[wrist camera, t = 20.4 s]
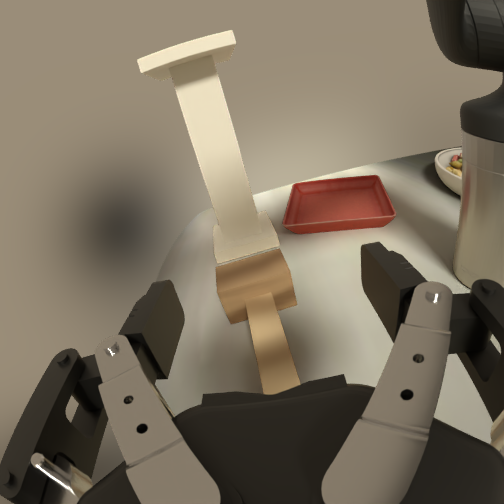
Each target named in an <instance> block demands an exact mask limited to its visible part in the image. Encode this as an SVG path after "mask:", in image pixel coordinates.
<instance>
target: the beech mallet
mask: <svg viewBox="0 0 504 504" xmlns="http://www.w3.org/2000/svg"><path fill="white" fill-rule="evenodd" d="M216 282H217V293H218V296H219V298H220V300H221V303H222V305H223V307H224V310H225V312H226V314H227V317H228V319H229V321H230V323H231V324H234V323H237V322H241V321H244V320H248V319H249V324H250V329H251V334H252V339H253V344H254V349H255V354H256V359H257V364H258V368H259V373H260V378H261V383H262V388H263V393H264V394H268V395H272V394H277V393H279V392H282V391H285V390H288V389H290V388H293V387H296V386H298V385H301V384H300V381H299V377H298V374H297V371H296V368H295V365H294V362H293V359H292V355H291V352H290V349H289V346H288V343H287V340H286V337H285V333H284V330H283V327H282V324H281V321H280V318H279V315H278V312H277V311H279V310H282V309H286V308H289V307H292V306H295V305H297V301H296V297H295V292H294V287H293V282H292V278H291V273H290V270H289V268H288V266H287V263H286V261H285V259H284V257H283V255H282V253H281V250H280V248H279V249H276V250H273V251H269V252H266V253H262V254H259V255H256V256H252V257H249V258H245V259H242V260H239V261H235V262H232V263H229V264H225V265H222V266H218V267H216Z"/></svg>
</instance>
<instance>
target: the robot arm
mask: <svg viewBox="0 0 504 504" xmlns="http://www.w3.org/2000/svg"><path fill="white" fill-rule="evenodd" d="M426 1H427V7H428V12H429V17H430V22H431V26H432V30H433V33H434V36H435V39H436V41H437V44H438V46H439V48H440V50H441V51H442V52H443V54H444V55H445V56H446V58H448V59H449V60H450V61H451V62H453V63H455V64H458V65H461V66H466V67H472V68H479V69H487V70H493V71H499V72H503V82H502V85H501V86H500V87H499V88H498V89H497V90H496V91H494V92H493V93H491V94H489V95H486V96H484V97H481V98H477V99H473V100H470V101H467V102H465V103H463V104H462V106H461V109H460V117H461V128H462V129H461V133H462V188H461V203H460V215H459V224H458V232H457V239H456V246H455V252H454V258H453V265H452V266H453V271H454V273H455V275H456V276H457V278H458V279H459V280H460V281H461V282H462V283H463V284H464V285H466V286H467V287H469V288H471V291H470V293H465V294H452V291H451V290H450V288H449V287H447V286H446V285H444V284H442V283H439V282H428V281H427V280H426V279H425V278H424V277H423V276H422V275H421V274H420V273H419V272H418V271H417V270H416V269H415V268H413V266H412V265H411V264H410V263H408V261H407V260H406V259H405V258H404V257H403V256H402V255H401V254H398V253H396V252H394V251H388V250H387V249H386V248H385V247H384V246H383V245H382V244H381V243H380V242H374V243H369V244H364V245H362V246H361V279H362V286H363V289H364V292H365V294H366V295H367V297H368V299H369V300H370V302H371V304H372V306H373V307H374V309H375V311H376V312H377V314H378V316H379V318H380V319H381V321H382V323H383V325H384V326H385V328H386V330H387V332H388V334H389V335H390V337H391V339H392V341H393V343H394V345H393V348H392V350H391V353H390V355H389V358H388V360H387V363H386V365H385V368H384V370H383V372H382V375H381V377H380V379H379V382H378V384H377V386H376V388H375V387H372V386H368V385H362V384H347V383H346V380H345V376H344V374H341V375H337V376H333V377H328V378H323V379H318V380H313V381H308V382H306V383H303V384H301V385H298V386H296V387H293V388H290V389H288V390H285V391H282V392H279V393H277V394H272V395H268V394H256V393H245V392H226V393H213V394H203V398H202V404H201V405H198V406H195V407H192V408H190V409H187V410H185V411H183V412H182V413H180V414H178V415H177V416H175V415H174V414H173V412H172V411H171V409H170V408H169V406H168V404H167V403H166V401H165V400H164V398H163V397H162V395H161V393H160V392H159V390H158V388H157V387H156V385H155V382H156V379H168V376H169V372H170V369H171V366H172V362H173V359H174V355H175V352H176V349H177V345H178V342H179V339H180V336H181V332H182V329H183V326H184V321H185V318H184V312H183V309H182V306H181V303H180V301H179V298H178V296H177V293H176V291H175V288H174V285H173V283H172V282H171V281H170V280H165V281H159V282H154V283H152V285H151V287H150V288H149V290H148V292H147V294H146V295H144V296H143V297H142V298H141V299H140V300H139V301H137V302H136V304H135V306H134V307H133V309H132V311H131V313H130V314H129V317H128V318H127V320H126V322H125V323H124V325H123V327H122V329H121V330H120V332H119V334H118V335H114V336H111V337H108V338H106V339H105V340H103V341H102V342H101V343H100V344H99V345H98V346H97V348H96V350H95V354H94V355H90V356H87V357H83V358H81V356H80V355H79V353H78V352H77V350H75V349H72V348H70V349H66V350H63V351H61V352H60V353H58V354H57V355H56V356H55V357H54V358H53V360H52V361H51V363H50V365H49V366H48V368H47V370H46V371H45V373H44V375H43V376H42V378H41V380H40V382H39V384H38V385H37V387H36V389H35V391H34V393H33V395H32V397H31V398H30V401H29V402H28V404H27V406H26V408H25V410H24V412H23V414H22V416H21V418H20V420H19V422H18V424H17V426H16V428H15V431H14V433H13V435H12V437H11V440H10V442H9V444H8V446H7V449H6V451H5V454H4V456H3V458H2V461H1V464H0V495H1V496H3V497H4V498H6V499H7V500H9V501H11V502H12V503H14V504H504V0H426ZM492 334H493V335H494V336H495V338H496V339H497V340H498V342H499V344H500V346H501V355H500V353H499V352H498V350H497V349H496V347H495V346H494V345H493V343H492V342H491V340H490V338H491V336H492ZM455 353H457V355H458V357H459V358H460V360H461V362H462V363H463V365H464V367H465V369H466V370H467V372H468V374H469V376H470V378H471V379H472V381H473V383H474V385H475V387H476V389H477V391H478V392H479V394H480V396H481V398H482V400H483V402H484V404H485V406H486V408H487V410H488V413H489V415H490V417H491V419H492V421H493V425H492V427H491V433H490V435H491V443H490V444H488V443H486V442H484V441H481V440H479V439H477V438H475V437H473V436H471V435H468V434H466V433H464V432H462V431H460V430H458V429H456V428H454V427H452V426H450V425H448V424H446V423H444V422H442V421H440V420H438V419H436V418H434V413H435V410H436V406H437V402H438V398H439V394H440V390H441V386H442V382H443V377H444V372H445V367H446V362H447V356H448V354H455ZM71 395H72V396H73V397H74V399H75V400H76V401H77V402H78V403H79V405H78V407H77V410H76V412H75V415H74V417H73V420H72V422H71V423H70V422H69V420H68V419H67V418H66V414H65V410H66V406H67V404H68V402H69V399H70V397H71ZM108 419H109V421H110V424H111V427H112V429H113V432H114V435H115V437H116V440H117V442H118V444H119V447H120V450H121V452H122V454H123V457H124V459H125V461H124V462H122V463H121V464H120V465H119V466H118V467H116V468H115V469H114V470H113V471H112V472H110V473H109V474H108V475H106V476H105V477H104V478H103V479H102V480H100V481H99V482H98V483H96V484H95V485H94V486H93V485H92V481H91V477H92V474H93V470H94V466H95V463H96V459H97V455H98V452H99V448H100V445H101V441H102V438H103V434H104V431H105V428H106V425H107V422H108Z"/></svg>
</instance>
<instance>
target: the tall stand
mask: <svg viewBox="0 0 504 504" xmlns="http://www.w3.org/2000/svg"><path fill="white" fill-rule="evenodd" d="M235 45H236V41H235V37H234V34H233V31H232V30H230V31H225V32H222V33H217V34H213V35H209V36H206V37H202V38H198V39H195V40H192V41H188V42H185V43H182V44H178V45H175V46H172V47H170V48H167V49H164V50H161V51H158V52H156V53H153V54H150V55H148V56H145V57H143V58H141V59H138V60H137V61H138V64H139V68H140V71H141V73H142V74H144V75H147V76H149V77H152V78H154V79H157V80H159V81H163V80H165V79H168V78H171V77H172V80H173V83H174V87H175V90H176V93H177V97H178V100H179V103H180V106H181V110H182V113H183V116H184V119H185V122H186V125H187V129H188V132H189V135H190V138H191V141H192V144H193V147H194V150H195V153H196V157H197V160H198V163H199V166H200V168H201V172H202V175H203V178H204V181H205V184H206V187H207V190H208V193H209V196H210V199H211V202H212V205H213V208H214V211H215V214H216V217H217V220H218V222H219V224H218V225H215V226H213V243H214V255H215V258H216V260H217V263H218V264H219V263H222V262H226V261H229V260H233V259H236V258H240V257H243V256H246V255H250V254H253V253H257V252H260V251H264V250H267V249H270V248H274V247H277V246H280V244H279V240H278V236H277V233H276V231H275V229H274V227H273V225H272V223H271V221H270V218H269V216H268V214H267V212H266V211H262V212H259V213H257V211H256V207H255V204H254V200H253V196H252V193H251V189H250V185H249V182H248V178H247V175H246V171H245V167H244V164H243V160H242V157H241V153H240V149H239V146H238V142H237V139H236V135H235V132H234V129H233V125H232V121H231V118H230V114H229V111H228V107H227V104H226V100H225V97H224V94H223V90H222V87H221V83H220V80H219V76H218V73H217V70H216V66H215V64H216V63H220V62H224V61H228V60H230V58H231V55H232V53H233V50H234V48H235Z"/></svg>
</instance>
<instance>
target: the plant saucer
mask: <svg viewBox="0 0 504 504" xmlns="http://www.w3.org/2000/svg"><path fill="white" fill-rule="evenodd" d="M395 216H396V211H395V209H394V207H393V205H392V203H391V201H390V198H389V196H388V194H387V192H386V190H385V188H384V186H383V184H382V182H381V180H380V178H379V176H377V175H369V176H358V177H346V178H336V179H326V180H317V181H309V182H301V183H295V184H293V186H292V190H291V194H290V197H289V201H288V205H287V208H286V212H285V215H284V219H283V223H282V225H283V226H284V227H285V228H287V229H288V230H290V231H292V232H294V233H297V234H308V233H318V232H329V231H340V230H352V229H364V228H376V227H383V226H385V225H386V224H388V223H389V222H390V221H391V220H392V219H393V218H394V217H395Z"/></svg>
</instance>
